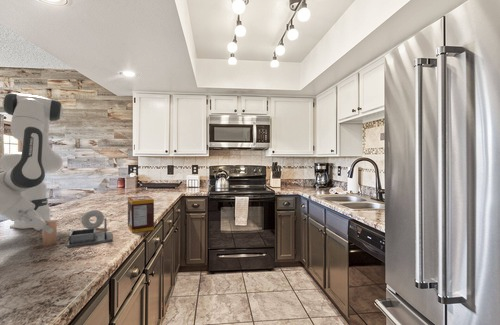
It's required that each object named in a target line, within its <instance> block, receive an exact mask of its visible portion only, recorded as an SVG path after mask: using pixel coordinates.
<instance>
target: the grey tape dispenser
mask: <svg viewBox="0 0 500 325" xmlns="http://www.w3.org/2000/svg"><path fill="white" fill-rule="evenodd" d="M103 224H104V226H103V227H104V231H103V232H98V233H97V228H92V229H87V228H84V229H83V228H82V229H75V230H71V231H70V233H69V236H68V242H67V248H73V247H74V248H75V247H82V246H89V245H95V244H104V243H110V242H113V233H112V231H108V230H107V224H108V223H107V218H105V217H104V221H103Z"/></svg>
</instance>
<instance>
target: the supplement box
mask: <svg viewBox="0 0 500 325" xmlns="http://www.w3.org/2000/svg"><path fill="white" fill-rule="evenodd" d="M127 227H128V228H129V230H130V232H131V234H134V233H135V234H136V233H142V232H149V231H154V230H155V199H154V198H151V197H150V196H149V195H140V196H128V197H127Z"/></svg>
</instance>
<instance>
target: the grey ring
mask: <svg viewBox="0 0 500 325" xmlns="http://www.w3.org/2000/svg"><path fill="white" fill-rule="evenodd" d="M92 217H95V218H96V220H95V221H93V222H91V221H90V219H91V218H92ZM104 219H105V215H104V213H103V211H101V210H98V209H89V210H87V211H86V212H85V213H84V214H82V217H81V225H82V226H83V227H84V229H92V228H96V229H97V228H99V227H100V226H102V225H103V224H104Z"/></svg>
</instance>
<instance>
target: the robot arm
mask: <svg viewBox="0 0 500 325" xmlns="http://www.w3.org/2000/svg"><path fill="white" fill-rule="evenodd" d="M2 108H3V110H4V112H5V113H7V114H8V115H11V121H10V134H11V135H12V137H13V138H14V139H16V140H18V141H20V142H21V150H20V151H15V152H9V153H4V154H3V155H2V156H1V157H0V169H1V170H2V171H3V172H0V215H1V216H4V217H5V218H6V219H7V220H10V221H11V222H13V224H11V225H10V226H9V228H11V229H34V230H36V231H42V230H44V231H46V232H48V233H49V234H50V233H52V232H53V229H52V228H50V227H49V226H47V225H46V222H45V221H48V220H55V217H54V216H53V215H52V214H51V208H50V207H49V206H48V202H49V201H48V197H47V184H46V183H45V182H44V180H45V177H46V174H47V173H52V172H57V171H60V170H61V168H62V167H63V163H64V162H63V159H62V157H61V155H59V154H58V153H57V152H55V151H54V150H53V149H52V147H51V145H50V143H49V142H50V141H49V140H50V139H49V134H50V122H56V121H58V120H60V119H61V118H62V117H63V114H64V107H63V105H62V103H61V102H60V101H59V100H56V99H54V98H52V99H51V98H47V97H45V96H39V95H32V94H24V93H17V92H9V93H7V94H5V96H4V97H3V99H2Z"/></svg>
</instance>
